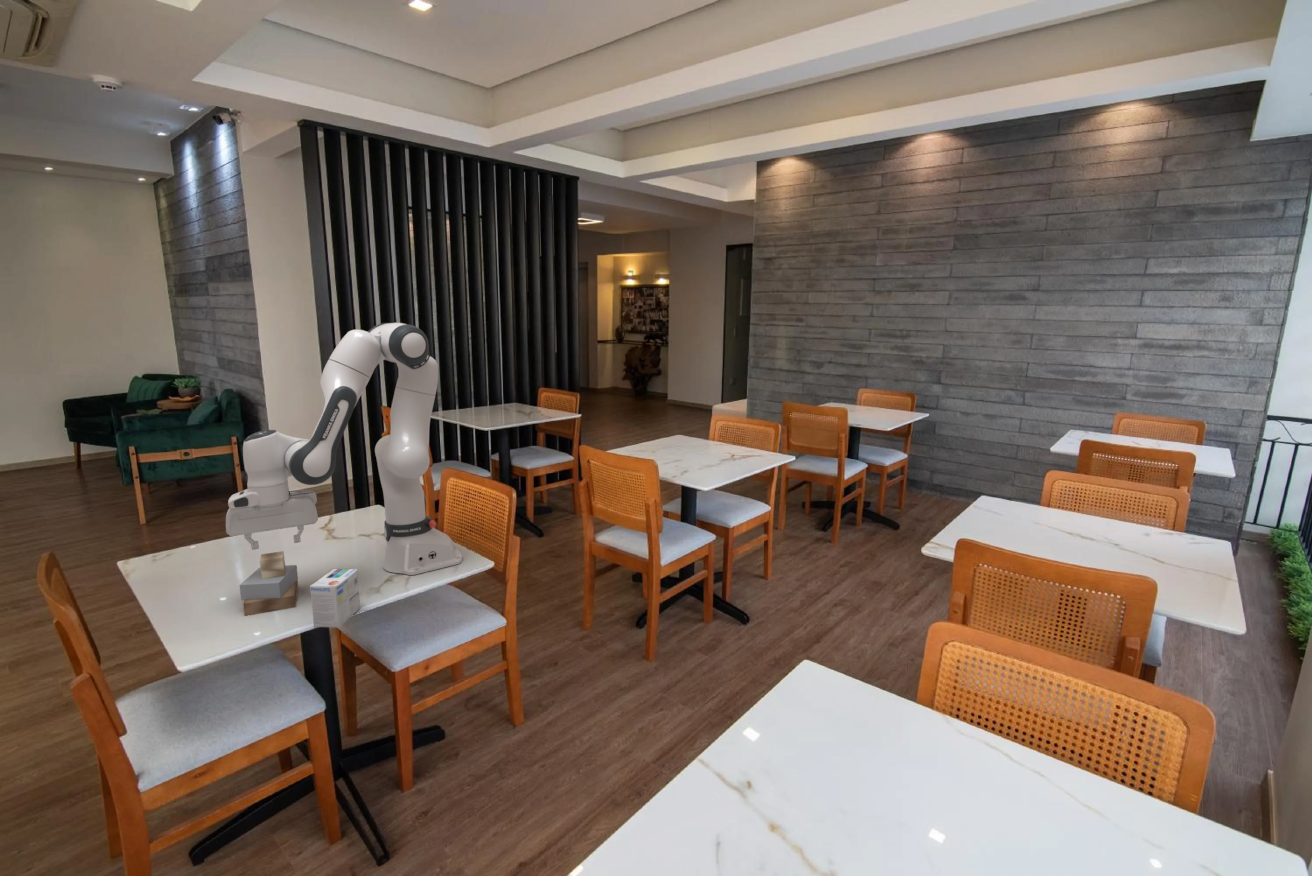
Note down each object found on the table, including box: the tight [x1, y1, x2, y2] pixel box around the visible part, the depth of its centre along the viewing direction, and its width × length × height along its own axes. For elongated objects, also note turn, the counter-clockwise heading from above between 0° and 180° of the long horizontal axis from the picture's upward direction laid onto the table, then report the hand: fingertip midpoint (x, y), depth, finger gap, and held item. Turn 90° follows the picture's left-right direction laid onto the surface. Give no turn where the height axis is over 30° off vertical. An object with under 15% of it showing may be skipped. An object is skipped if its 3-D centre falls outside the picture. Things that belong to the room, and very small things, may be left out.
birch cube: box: [259, 550, 286, 579], centre depth 163 cm, size 5×5×5 cm
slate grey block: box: [239, 564, 299, 601], centre depth 163 cm, size 9×12×4 cm
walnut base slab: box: [242, 579, 299, 617], centre depth 164 cm, size 11×14×4 cm
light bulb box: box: [309, 568, 361, 628], centre depth 155 cm, size 11×7×11 cm, turn 178°
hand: (276, 545), depth 163 cm, fingers open, 8 cm apart
